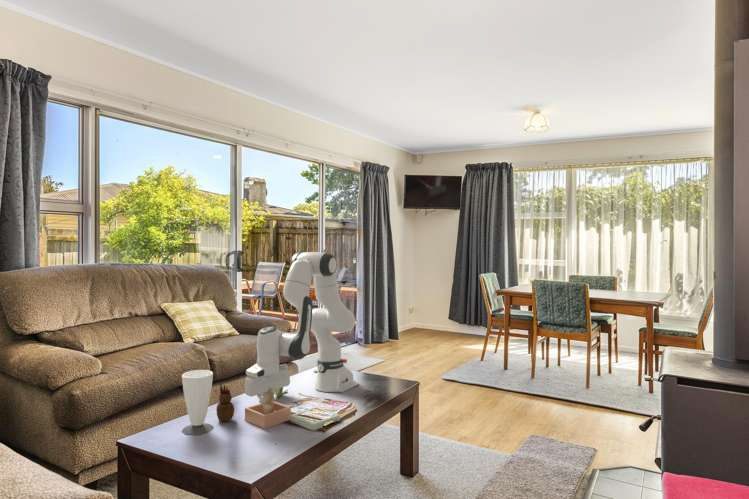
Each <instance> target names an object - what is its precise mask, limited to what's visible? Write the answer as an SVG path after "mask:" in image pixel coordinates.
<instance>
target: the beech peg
mask: <svg viewBox="0 0 749 499" xmlns="http://www.w3.org/2000/svg"><path fill="white" fill-rule="evenodd" d="M262 398H263V399H265V403H263V414H264V415H266V414H269V413H272V412H274V401H275V400H274V387H273V388H270V389H268V392H265V393H263V396H262Z"/></svg>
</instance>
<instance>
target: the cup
mask: <svg viewBox="0 0 749 499" xmlns="http://www.w3.org/2000/svg"><path fill="white" fill-rule="evenodd" d="M213 377H214V372H213V371H212V370H208V369H195V370H190V371H186V372H184V373H183V374H182V375H181V382H182V390H183V396H184V401H185V402H184V403H185V406H186V411H187V415H188V419H189V421H190V424H189V425H186V426H184V427H183V428H182V429H183V430H181V432H182V434H183V433H185V434H184V435H186V434H187V436H200V434H201V435H205V434H207V433H210V432H211V431H212V430H213V429H214V425H213V424H210V423H206V421H205V420H206V417H207V414H208V410H209V405H210V400H211V394H212V389H213V388H212V386H213V379H214V378H213ZM209 431H210V432H209ZM204 433H205V434H204Z"/></svg>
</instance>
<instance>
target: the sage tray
mask: <svg viewBox="0 0 749 499" xmlns="http://www.w3.org/2000/svg"><path fill="white" fill-rule="evenodd" d="M313 409H319V410H322V411H325V412H329V413H332V414H334V416H331V417H329V418H326V419H323V420H321V421H318V422H311V421H307V420H305V419H302V418H299V417H297V416H298V415H299V414H302V413H304V412H307V411H310V410H313ZM340 419H341V418H340V414H338V413H336V412H333V411H330V410H327V409H324V408H321V407H320V406H319V407H318V406H313V407H311V408H308V409H306V410H305V409H304V410H302V411H299V412H296V413H293V414H291V415H290V420H289V421H290V422H291V423H292V424H296V425H297V426H300V427H303V428H306V429H308V430H311V431H317V430H320V429H322V428H324V427H323V426H324V424H325V423H326V422H329V421H338V422H339V421H340Z"/></svg>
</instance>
